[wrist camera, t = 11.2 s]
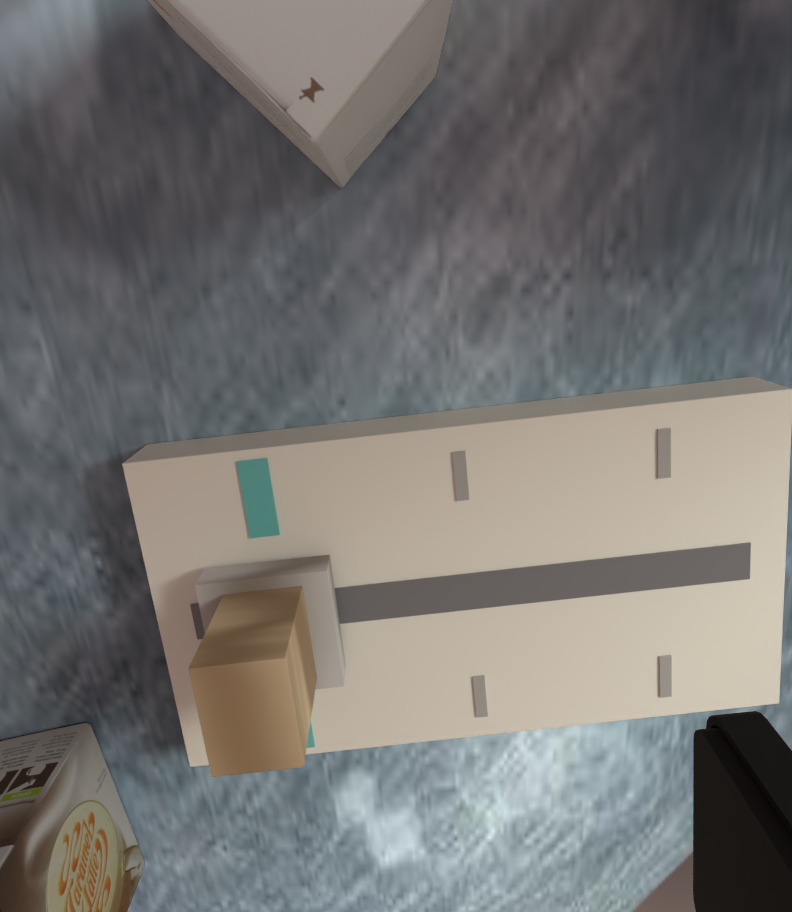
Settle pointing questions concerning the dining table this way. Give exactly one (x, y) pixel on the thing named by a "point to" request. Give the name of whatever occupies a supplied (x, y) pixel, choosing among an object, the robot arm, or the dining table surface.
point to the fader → (264, 660)
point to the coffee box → (63, 827)
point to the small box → (320, 65)
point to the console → (499, 556)
